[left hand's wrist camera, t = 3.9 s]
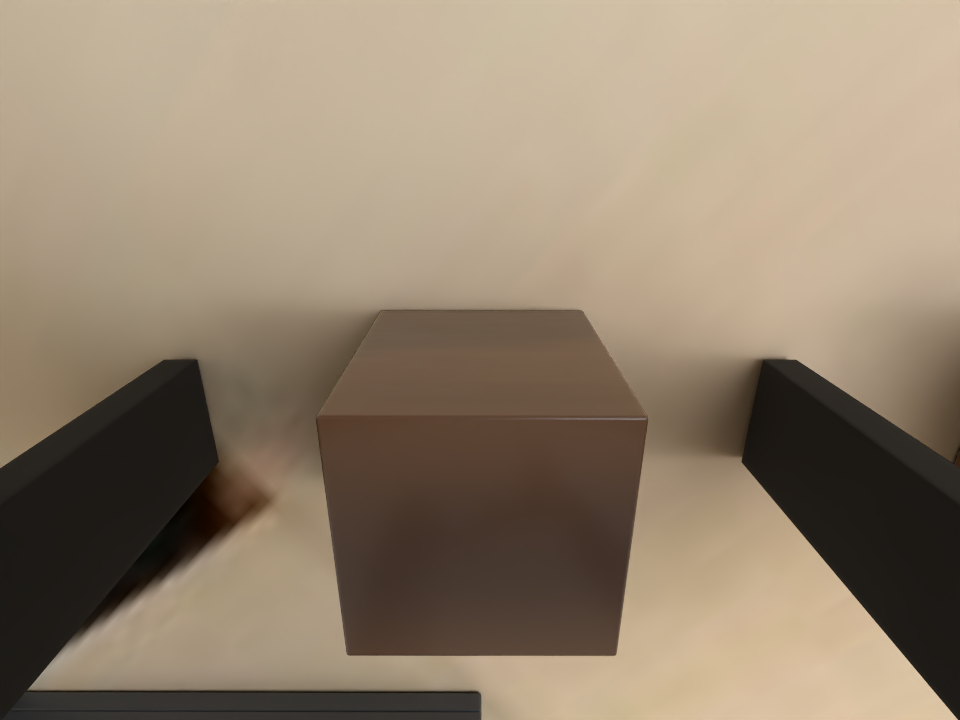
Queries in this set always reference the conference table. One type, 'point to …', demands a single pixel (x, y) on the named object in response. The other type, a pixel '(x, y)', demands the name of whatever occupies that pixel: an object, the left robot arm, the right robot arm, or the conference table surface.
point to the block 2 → (957, 460)
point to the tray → (245, 706)
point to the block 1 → (481, 485)
